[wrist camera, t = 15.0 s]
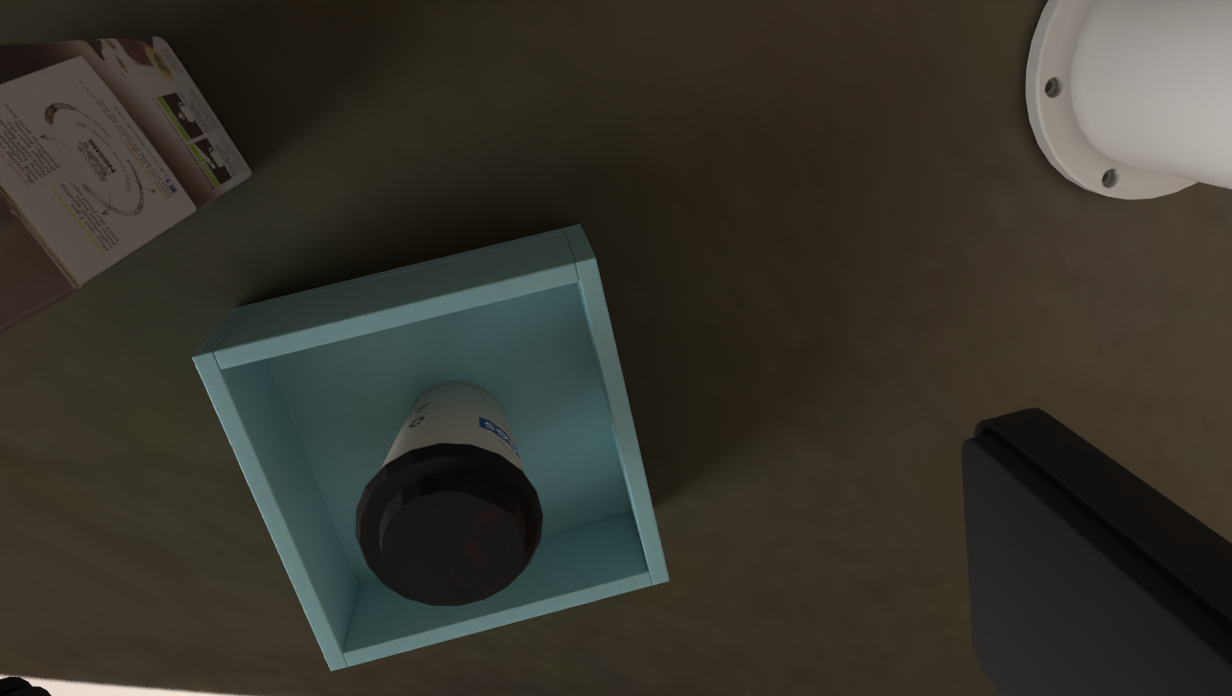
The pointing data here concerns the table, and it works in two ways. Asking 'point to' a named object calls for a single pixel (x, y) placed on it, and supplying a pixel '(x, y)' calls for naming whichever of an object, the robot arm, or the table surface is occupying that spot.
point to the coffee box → (97, 161)
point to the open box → (381, 400)
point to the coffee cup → (450, 502)
